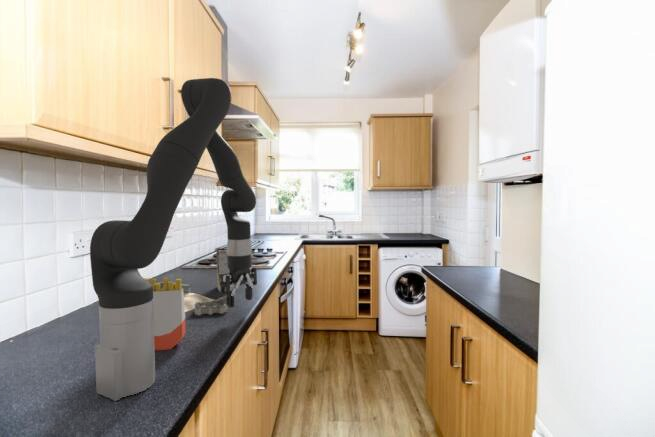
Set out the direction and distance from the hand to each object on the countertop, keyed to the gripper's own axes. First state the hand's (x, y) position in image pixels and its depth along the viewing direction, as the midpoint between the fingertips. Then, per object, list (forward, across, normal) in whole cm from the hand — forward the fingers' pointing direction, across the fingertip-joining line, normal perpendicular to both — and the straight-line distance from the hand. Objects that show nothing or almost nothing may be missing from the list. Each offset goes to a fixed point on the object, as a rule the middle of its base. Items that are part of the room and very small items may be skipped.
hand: (240, 303), depth 105 cm
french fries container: (+4, -25, +4) cm, 26 cm away
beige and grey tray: (+6, 0, +33) cm, 33 cm away
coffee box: (+5, +24, +28) cm, 37 cm away
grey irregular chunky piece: (+5, 0, +12) cm, 13 cm away
